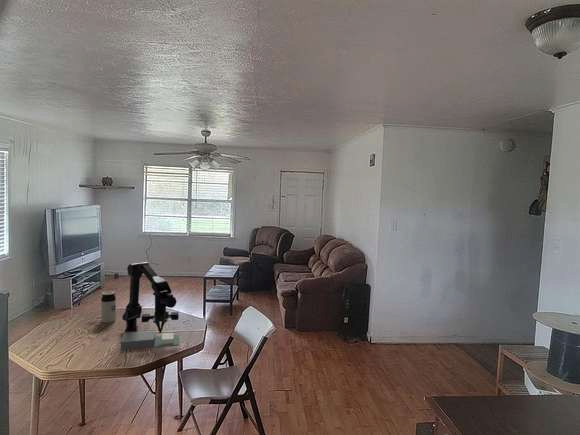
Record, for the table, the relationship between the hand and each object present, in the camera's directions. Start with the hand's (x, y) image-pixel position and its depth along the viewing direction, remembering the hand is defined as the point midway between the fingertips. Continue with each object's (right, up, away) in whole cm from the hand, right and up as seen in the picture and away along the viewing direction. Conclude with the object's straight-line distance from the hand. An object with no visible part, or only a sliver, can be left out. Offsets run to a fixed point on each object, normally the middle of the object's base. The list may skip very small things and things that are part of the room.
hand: (160, 332), depth 204 cm
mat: (+3, -5, +1) cm, 6 cm away
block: (+4, -2, +1) cm, 4 cm away
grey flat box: (-11, -5, -3) cm, 12 cm away
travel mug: (-43, -2, +31) cm, 53 cm away
